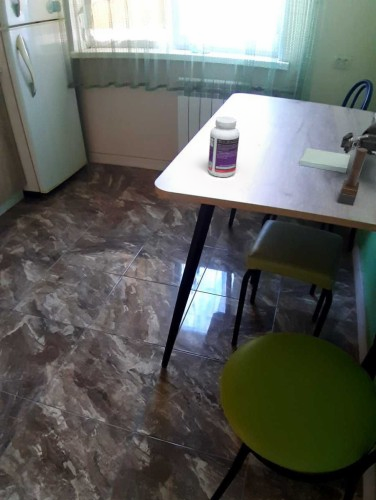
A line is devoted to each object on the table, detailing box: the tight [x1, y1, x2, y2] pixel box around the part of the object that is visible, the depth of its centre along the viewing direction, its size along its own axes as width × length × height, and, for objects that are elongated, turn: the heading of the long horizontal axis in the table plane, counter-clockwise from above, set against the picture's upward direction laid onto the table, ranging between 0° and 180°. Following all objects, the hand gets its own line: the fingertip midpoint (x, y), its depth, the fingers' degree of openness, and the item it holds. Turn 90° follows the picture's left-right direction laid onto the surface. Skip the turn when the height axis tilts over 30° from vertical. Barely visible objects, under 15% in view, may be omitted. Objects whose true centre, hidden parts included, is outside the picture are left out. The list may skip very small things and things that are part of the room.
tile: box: [299, 147, 351, 174], centre depth 129 cm, size 14×12×2 cm
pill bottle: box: [207, 116, 240, 178], centre depth 115 cm, size 8×8×14 cm
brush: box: [337, 148, 368, 206], centre depth 106 cm, size 6×4×13 cm, turn 159°
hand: (363, 153), depth 105 cm, fingers open, 8 cm apart
